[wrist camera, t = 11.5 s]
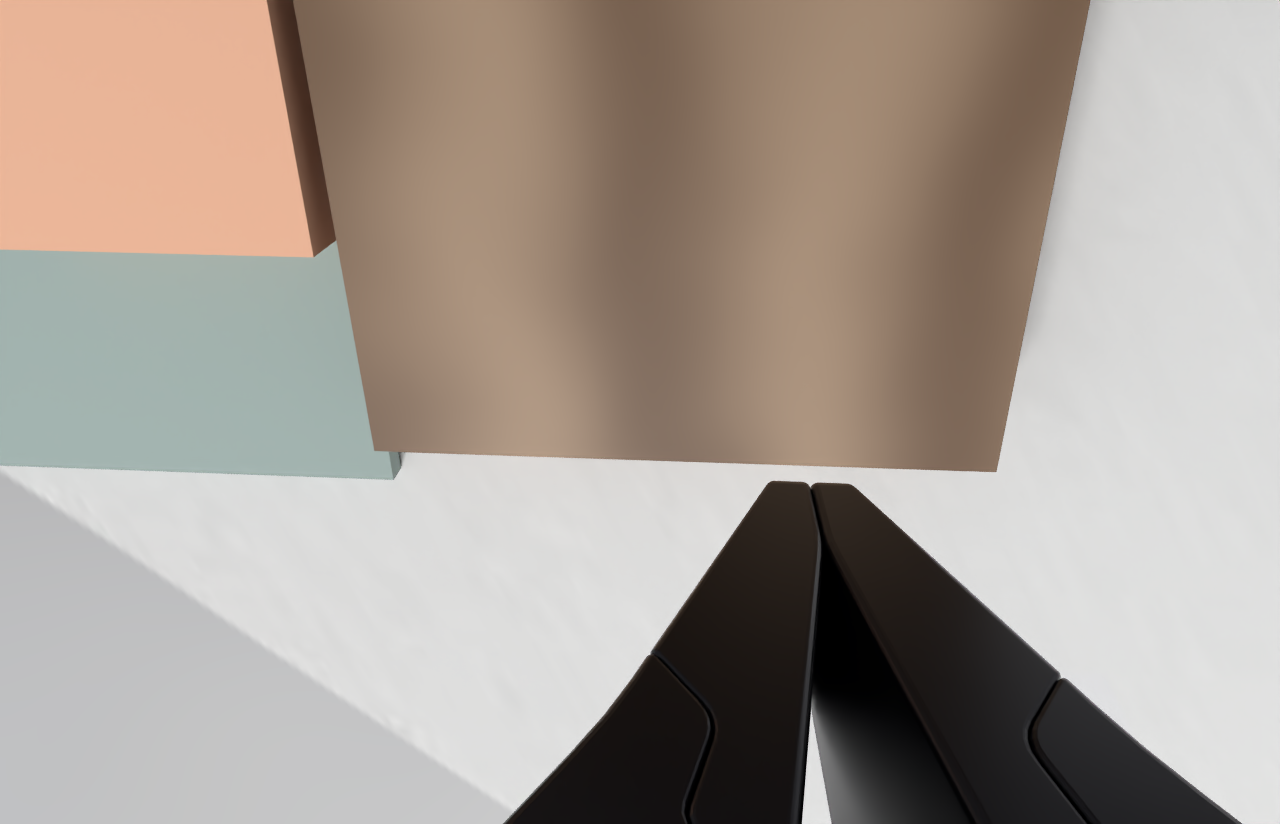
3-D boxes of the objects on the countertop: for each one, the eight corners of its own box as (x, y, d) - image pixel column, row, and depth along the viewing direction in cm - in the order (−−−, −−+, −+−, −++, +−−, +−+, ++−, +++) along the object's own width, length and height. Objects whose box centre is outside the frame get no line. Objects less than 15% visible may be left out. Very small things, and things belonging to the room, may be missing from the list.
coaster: (291, -131, 17) (240, -140, 15) (350, 230, 20) (313, 257, 18) (-51, -127, 18) (-138, -134, 16) (60, 223, 21) (-3, 249, 19)
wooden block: (1126, -469, 14) (1198, -545, 12) (969, 418, 22) (996, 472, 19) (281, -421, 15) (206, -481, 13) (408, 402, 23) (374, 451, 21)
